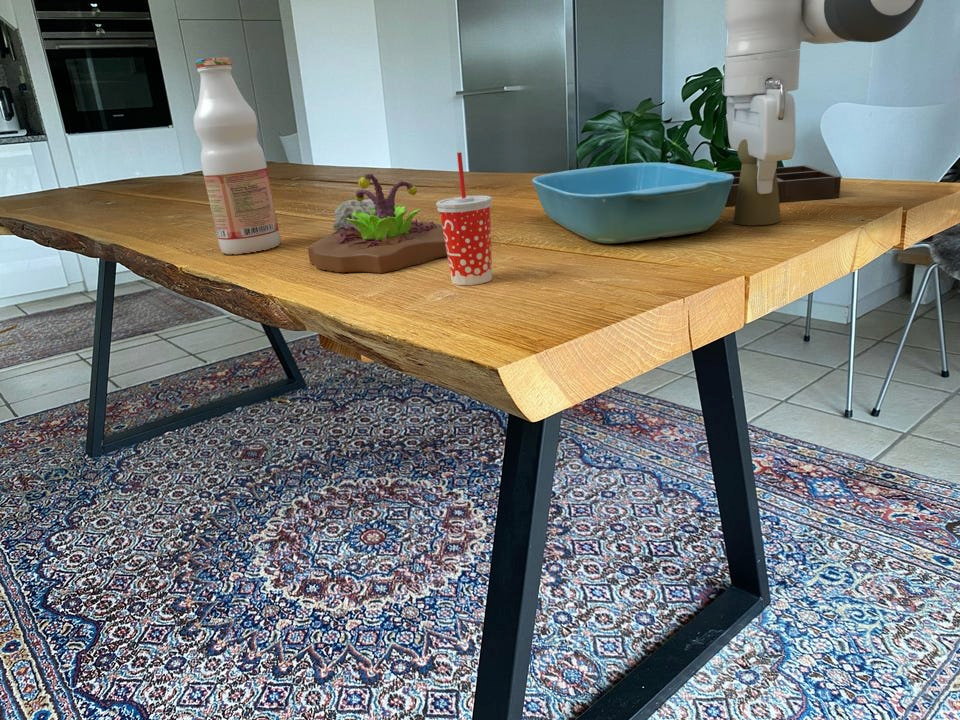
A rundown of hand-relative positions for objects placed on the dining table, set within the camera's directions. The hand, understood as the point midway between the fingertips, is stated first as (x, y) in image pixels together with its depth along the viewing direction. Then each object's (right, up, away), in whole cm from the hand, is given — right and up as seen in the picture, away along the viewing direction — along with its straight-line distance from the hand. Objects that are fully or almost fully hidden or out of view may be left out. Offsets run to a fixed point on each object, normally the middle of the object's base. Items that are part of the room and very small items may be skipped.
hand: (757, 189), depth 98 cm
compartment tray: (+10, +4, +21) cm, 23 cm away
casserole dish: (-16, -3, +8) cm, 18 cm away
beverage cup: (-38, -14, -14) cm, 43 cm away
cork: (0, -4, +1) cm, 4 cm away
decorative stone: (-57, 0, +28) cm, 64 cm away
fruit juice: (-73, -5, +19) cm, 76 cm away
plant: (-50, -8, +4) cm, 51 cm away
